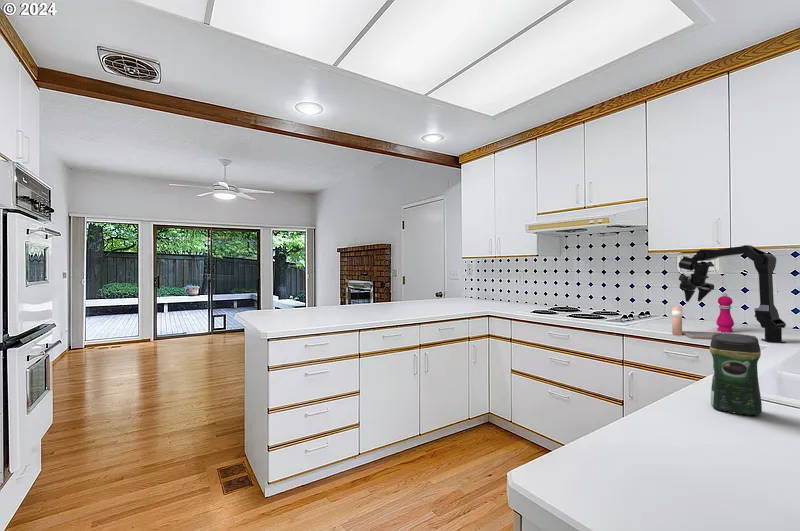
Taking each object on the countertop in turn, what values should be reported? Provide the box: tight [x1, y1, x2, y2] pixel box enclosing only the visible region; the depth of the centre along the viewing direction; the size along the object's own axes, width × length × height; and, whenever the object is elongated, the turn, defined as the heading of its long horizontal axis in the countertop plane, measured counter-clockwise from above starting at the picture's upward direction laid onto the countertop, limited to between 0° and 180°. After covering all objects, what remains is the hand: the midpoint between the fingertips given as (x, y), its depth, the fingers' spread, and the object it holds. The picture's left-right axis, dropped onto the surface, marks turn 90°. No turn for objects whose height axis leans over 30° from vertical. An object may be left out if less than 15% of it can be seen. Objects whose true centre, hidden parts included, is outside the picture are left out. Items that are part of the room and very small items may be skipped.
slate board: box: [682, 330, 722, 340], centre depth 195 cm, size 16×18×1 cm
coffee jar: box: [709, 332, 763, 416], centre depth 98 cm, size 10×8×19 cm
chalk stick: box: [671, 305, 683, 337], centre depth 200 cm, size 4×4×14 cm
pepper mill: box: [716, 293, 735, 333], centre depth 209 cm, size 7×7×20 cm
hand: (692, 301), depth 213 cm, fingers open, 9 cm apart
